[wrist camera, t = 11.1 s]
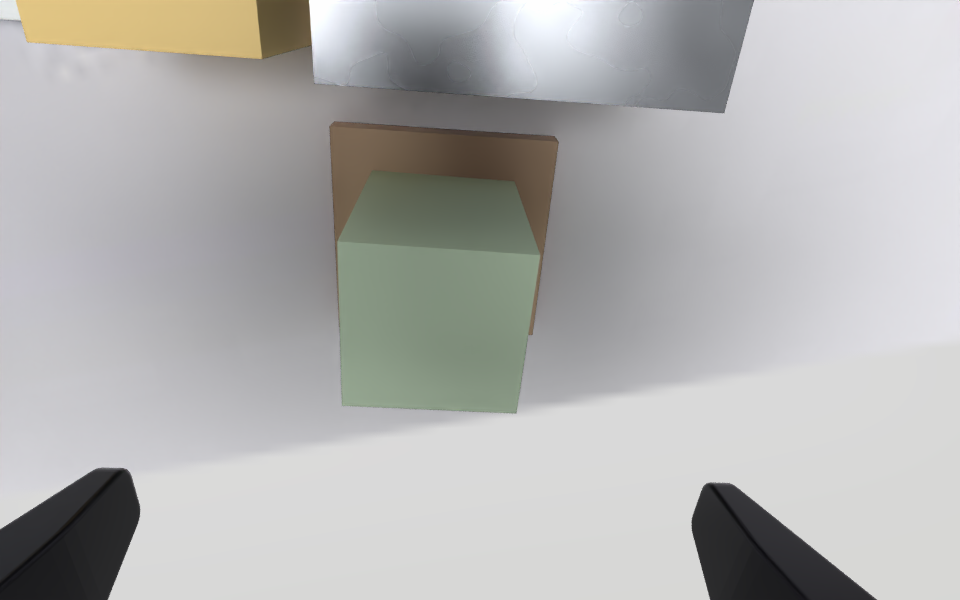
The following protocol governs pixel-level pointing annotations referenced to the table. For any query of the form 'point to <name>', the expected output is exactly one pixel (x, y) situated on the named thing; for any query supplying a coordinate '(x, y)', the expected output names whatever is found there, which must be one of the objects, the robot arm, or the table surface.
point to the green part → (435, 294)
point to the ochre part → (172, 25)
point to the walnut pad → (443, 166)
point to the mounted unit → (536, 48)
